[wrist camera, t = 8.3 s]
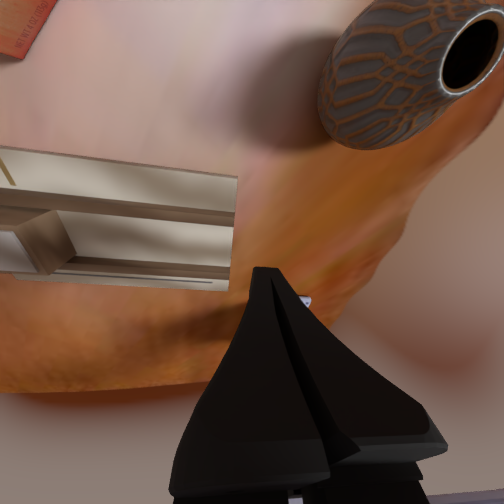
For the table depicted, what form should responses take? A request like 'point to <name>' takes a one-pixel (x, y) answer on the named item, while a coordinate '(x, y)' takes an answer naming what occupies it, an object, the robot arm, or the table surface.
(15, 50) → the cracker box
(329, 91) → the vase
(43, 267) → the block
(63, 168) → the birch board
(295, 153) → the table surface
